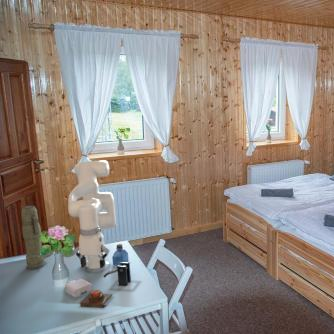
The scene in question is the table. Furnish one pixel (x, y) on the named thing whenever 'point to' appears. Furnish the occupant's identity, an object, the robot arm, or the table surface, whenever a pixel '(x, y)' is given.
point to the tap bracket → (124, 274)
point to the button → (95, 293)
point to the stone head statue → (32, 237)
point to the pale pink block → (77, 287)
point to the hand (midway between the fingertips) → (93, 266)
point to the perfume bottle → (120, 255)
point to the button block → (95, 300)
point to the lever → (114, 271)
